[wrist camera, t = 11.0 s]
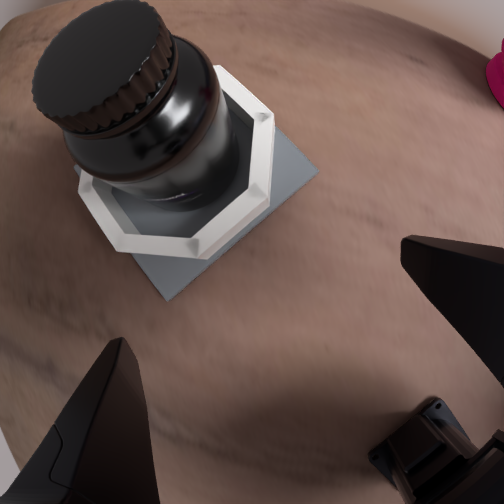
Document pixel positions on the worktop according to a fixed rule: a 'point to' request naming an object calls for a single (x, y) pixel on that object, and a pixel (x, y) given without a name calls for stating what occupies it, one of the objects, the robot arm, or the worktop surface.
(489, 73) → the pepper mill
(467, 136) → the worktop surface
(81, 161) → the supplement bottle
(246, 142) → the collar seat
